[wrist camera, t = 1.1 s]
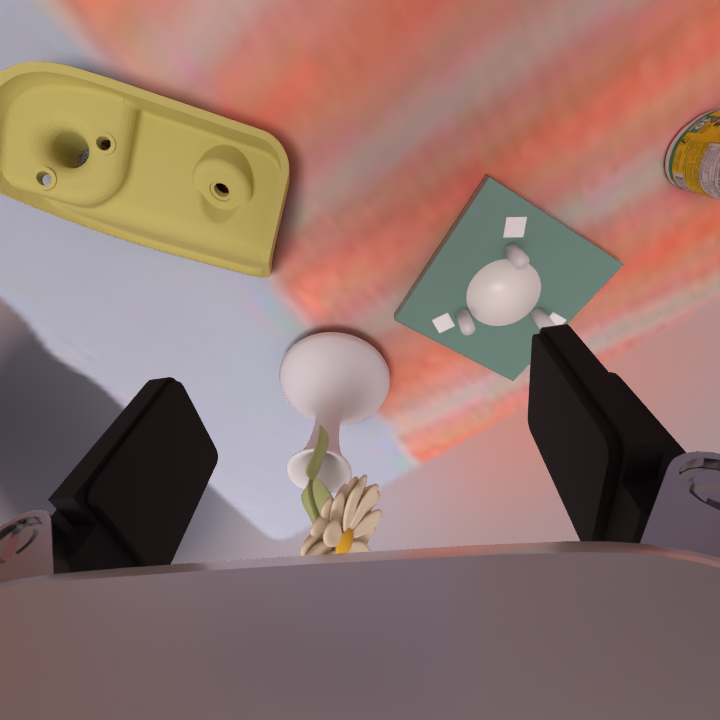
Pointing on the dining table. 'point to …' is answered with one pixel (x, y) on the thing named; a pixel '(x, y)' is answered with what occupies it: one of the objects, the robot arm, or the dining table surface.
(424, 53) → the dining table surface
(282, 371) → the flower in vase
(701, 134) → the supplement bottle
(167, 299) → the dining table surface
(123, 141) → the plastic component
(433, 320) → the board
